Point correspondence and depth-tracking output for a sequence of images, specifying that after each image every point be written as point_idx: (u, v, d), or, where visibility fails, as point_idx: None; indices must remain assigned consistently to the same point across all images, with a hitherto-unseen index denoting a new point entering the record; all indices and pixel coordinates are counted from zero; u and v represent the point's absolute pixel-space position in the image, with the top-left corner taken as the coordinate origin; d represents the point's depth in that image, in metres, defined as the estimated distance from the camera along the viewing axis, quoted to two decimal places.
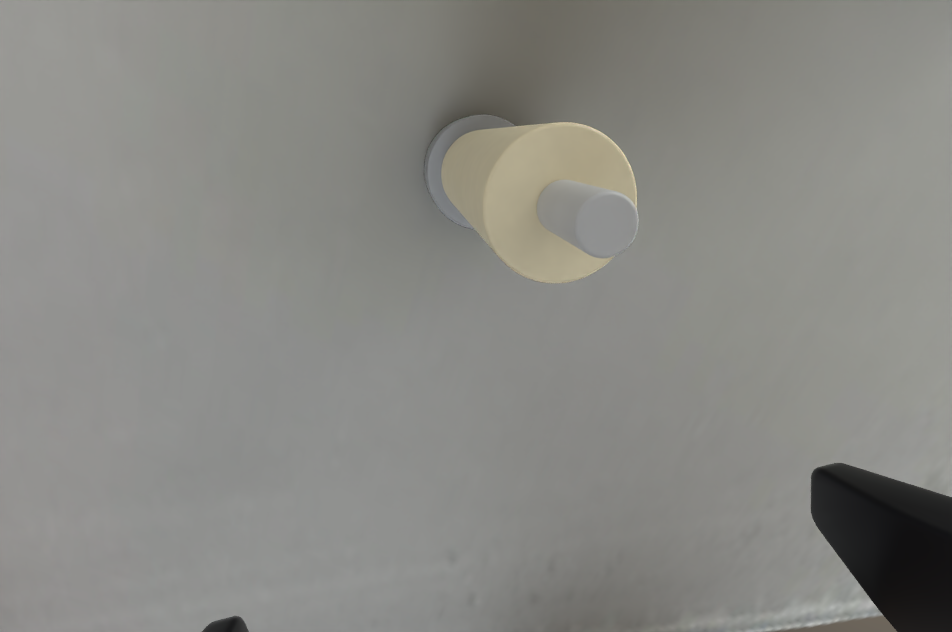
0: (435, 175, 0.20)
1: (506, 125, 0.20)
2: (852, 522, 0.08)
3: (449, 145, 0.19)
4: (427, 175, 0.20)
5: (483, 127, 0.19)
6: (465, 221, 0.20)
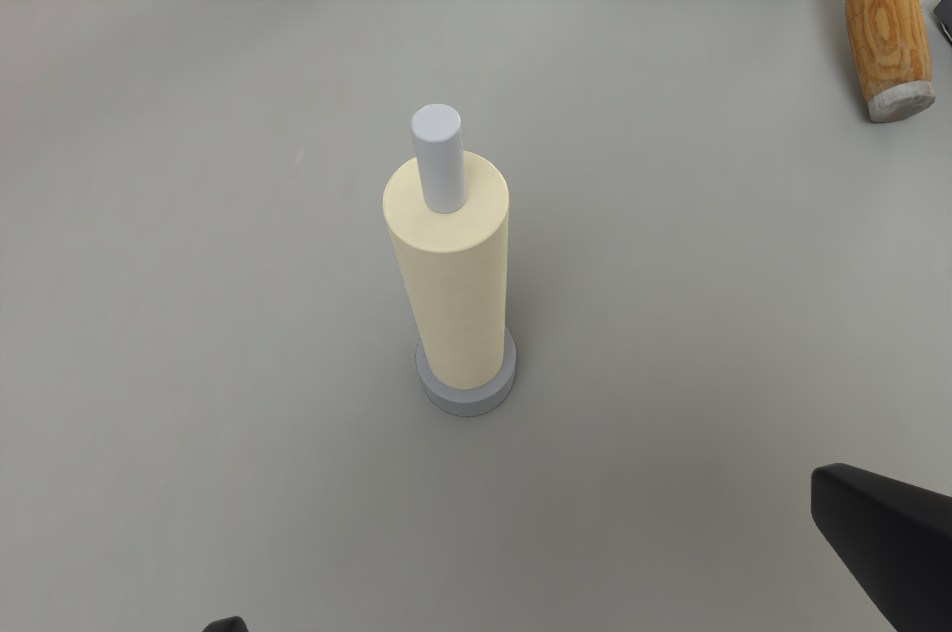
0: (423, 359, 0.22)
1: None
2: (852, 522, 0.08)
3: None
4: (416, 360, 0.22)
5: None
6: (452, 395, 0.21)
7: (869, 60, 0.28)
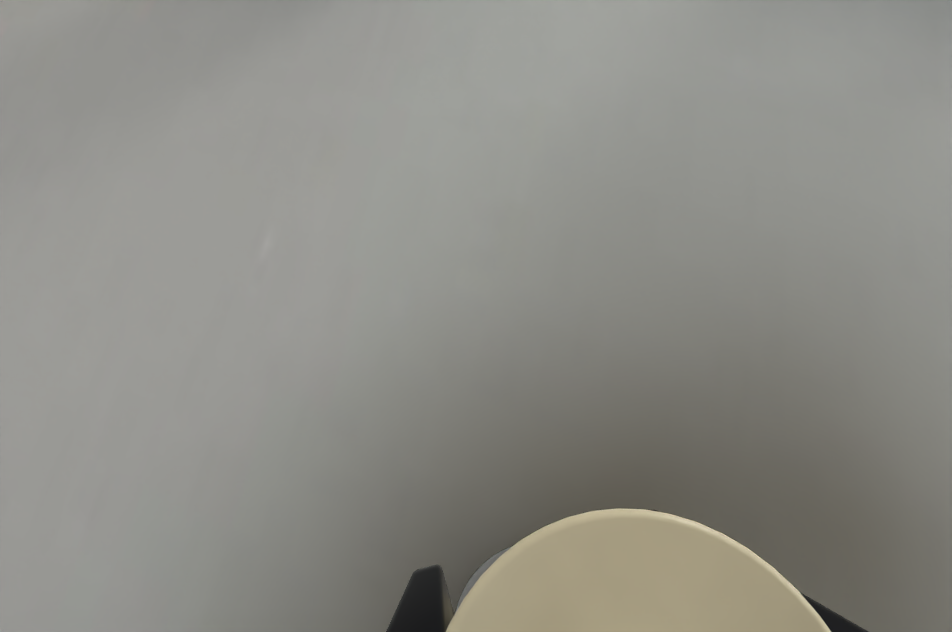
0: None
1: None
2: None
3: None
4: None
5: None
6: None
7: None
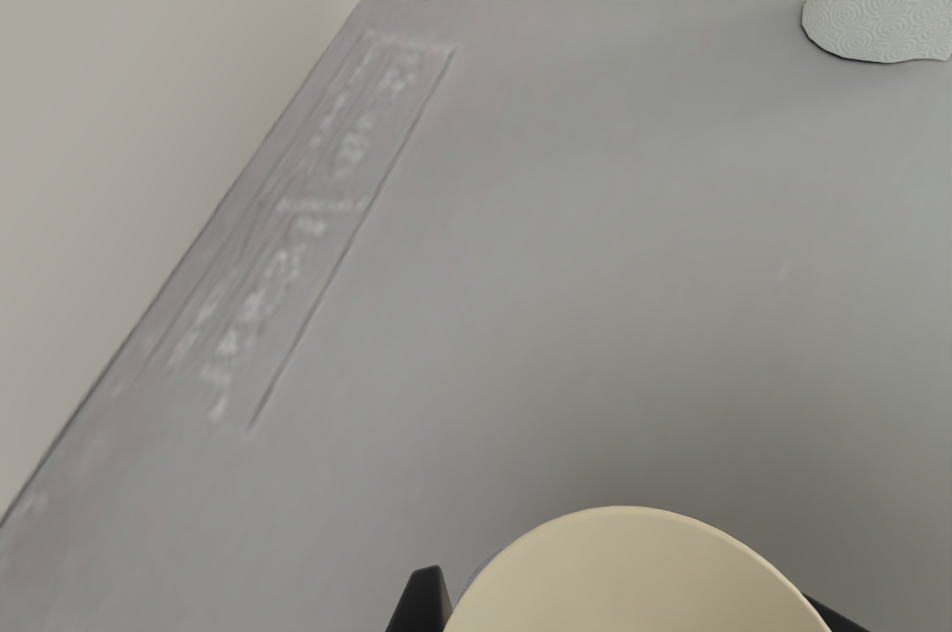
0: None
1: None
2: None
3: None
4: None
5: None
6: None
7: None
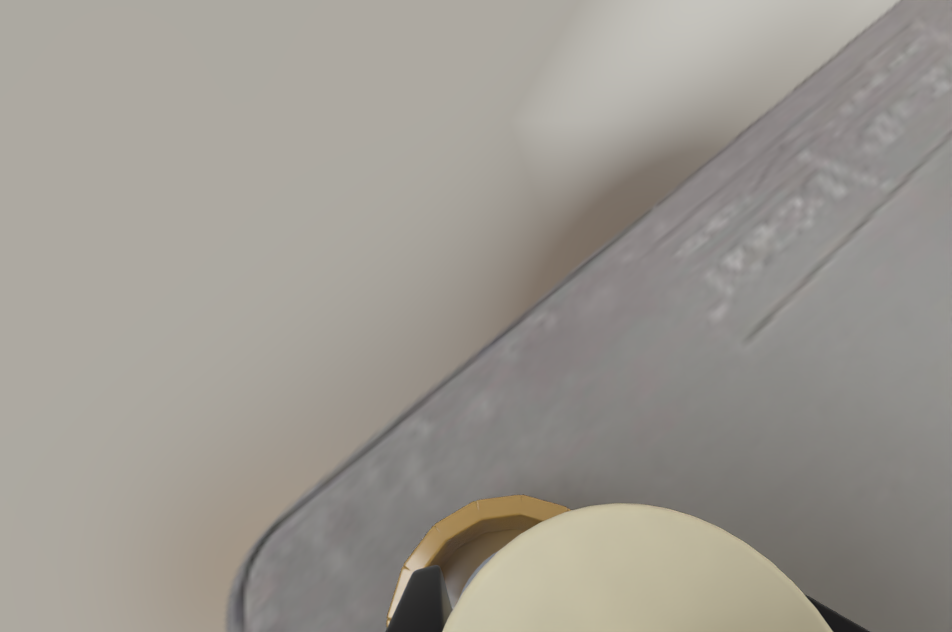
0: None
1: None
2: None
3: None
4: None
5: None
6: None
7: None
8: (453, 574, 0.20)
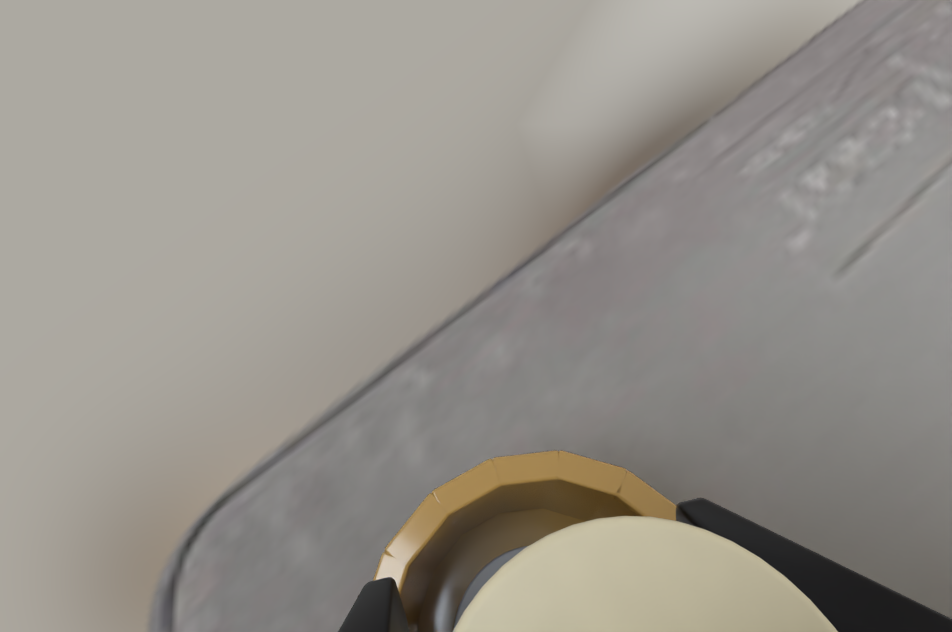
0: None
1: None
2: None
3: None
4: None
5: None
6: None
7: None
8: (457, 568, 0.15)
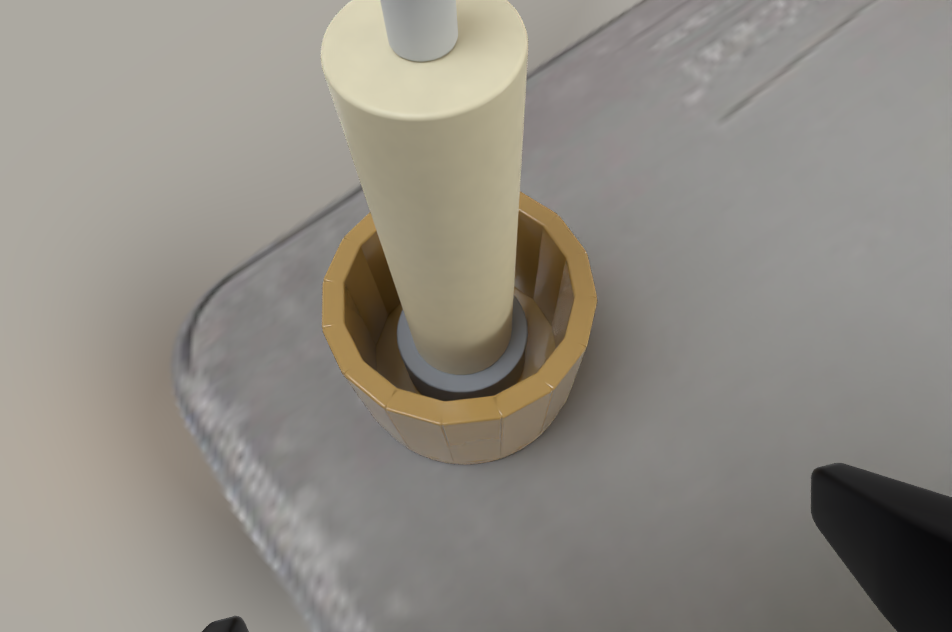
0: (406, 336, 0.17)
1: None
2: (852, 521, 0.08)
3: None
4: (398, 338, 0.17)
5: None
6: (445, 383, 0.16)
7: None
8: None
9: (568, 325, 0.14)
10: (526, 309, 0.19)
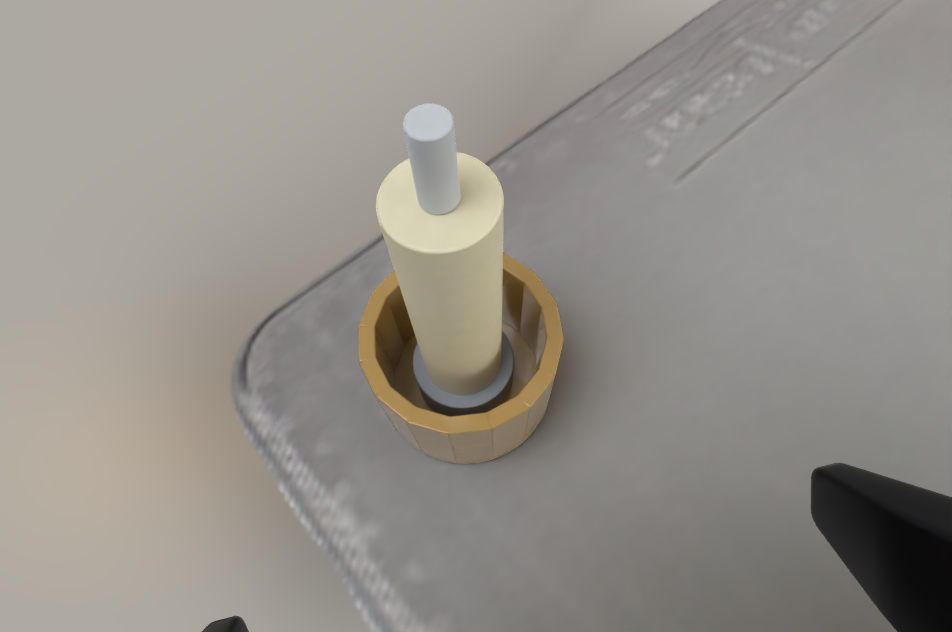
0: (420, 364, 0.22)
1: None
2: (852, 522, 0.08)
3: None
4: (413, 366, 0.22)
5: None
6: (450, 401, 0.21)
7: None
8: None
9: (541, 359, 0.19)
10: (514, 340, 0.24)
